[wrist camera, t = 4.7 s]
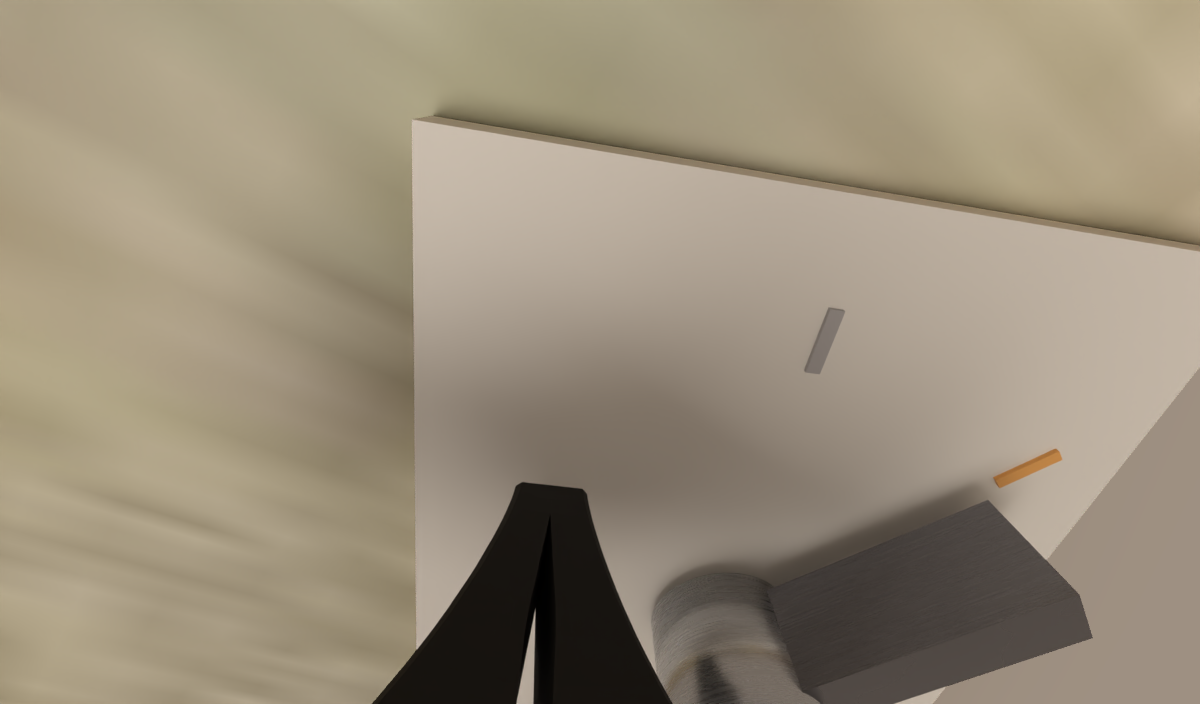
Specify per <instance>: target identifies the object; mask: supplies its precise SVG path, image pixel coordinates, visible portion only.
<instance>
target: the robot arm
mask: <svg viewBox="0 0 1200 704" xmlns="http://www.w3.org/2000/svg"><path fill="white" fill-rule="evenodd" d="M535 608H536V609H535ZM534 613H535V651H534V697H533V704H673V703H672V701H671V700H670V698H669V696H668V694H667V693H666V691H665V689H664V687H663V686H662V684H661V682H660V680H659V678H658V676H657V674H656V672H655V671H654V669H653V667H652V665H651V663H650V661H649V659H648V657H647V655H646V653H645V651H644V649H643V647H642V645H641V643H640V641H639V639H638V637H637V635H636V633H635V631H634V629H633V626H632V624H631V622H630V620H629V617H628V615H627V613H626V611H625V609H624V606H623V604H622V602H621V599H620V597H619V594H618V592H617V590H616V587H615V584H614V582H613V579H612V577H611V574H610V571H609V569H608V566H607V563H606V561H605V558H604V555H603V552H602V549H601V546H600V543H599V540H598V537H597V534H596V530H595V527H594V523H593V520H592V516H591V512H590V507H589V503H588V497H587V493H586V492H585V491H584V490H583V489H580V488H571V487H562V486H553V485H545V484H536V483H527V482H521V483H520V484H518V485H516V487H515V490H514V493H513V496H512V499H511V501H510V504H509V506H508V508H507V511H506V513H505V515H504V517H503V519H502V521H501V523H500V525H499V527H498V529H497V531H496V532H495V534H494V536H493V538H492V540H491V541H490V543H489V545H488V546H487V548H486V550H485V552H484V553H483V555H482V557H481V558H480V560H479V562H478V564H477V565H476V567H475V568H474V570H473V572H472V573H471V575H470V576H469V578H468V579H467V581H466V582H465V584H464V585H463V587H462V588H461V590H460V591H459V593H458V594H457V595H456V597H455V598H454V600H453V601H452V603H451V604H450V606H449V607H448V609H447V610H446V612H445V613H444V614H443V616H442V617H441V618H440V620H439V621H438V623H437V624H436V625H435V627H434V628H433V629H432V631H431V632H430V633H429V635H428V636H427V637H426V639H425V640H424V641H423V642H422V644H421V645H420V646H419V648H418V649H417V650H416V651H415V653H414V654H413V655H412V657H411V658H410V659H409V660H408V662H407V663H406V664H405V665H404V666H403V668H402V669H401V670H400V671H399V672H398V674H397V675H396V676H395V677H394V678H393V680H392V681H391V682H390V683H389V684H388V685H387V687H386V688H385V689H384V690H383V691H382V693H381V694H380V695H379V696H378V697H377V699H376V700H375V701H374V702H373V703H372V704H516V703H517V698H518V693H519V688H520V683H521V678H522V673H523V668H524V663H525V658H526V653H527V648H528V643H529V638H530V633H531V628H532V623H533V618H534Z"/></svg>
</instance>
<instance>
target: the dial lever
mask: <svg viewBox="0 0 1200 704" xmlns="http://www.w3.org/2000/svg"><path fill="white" fill-rule="evenodd" d="M651 628H652V636H653V645H654V654H655V663H656V672H657V676H658V678H659V680H660V682H661V684H662V686H663V687H664V689H665V691H666V693H667V694H668V696H669V698H670V700H671V701H672V703H673V704H895V703H898V702H901V701H904V700H907V699H910V698H913V697H916V696H919V695H922V694H925V693H928V692H931V691H934V690H937V689H940V688H943V687H946V686H949V685H952V684H955V683H958V682H961V681H964V680H967V679H970V678H973V677H976V676H979V675H982V674H985V673H988V672H991V671H994V670H997V669H1000V668H1003V667H1006V666H1009V665H1013V664H1016V663H1018V662H1021V661H1024V660H1027V659H1030V658H1034V657H1037V656H1039V655H1043V654H1045V653H1049V652H1052V651H1055V650H1057V649H1061V648H1064V647H1067V646H1070V645H1072V644H1076V643H1079V642H1082V641H1085V640H1088V639H1091V638H1092V634H1091V631H1090V628H1089V624H1088V621H1087V618H1086V615H1085V612H1084V608H1083V605H1082V602H1081V599H1080V596H1079V594H1078V593H1077V592H1076V591H1075V590H1074V589H1073V588H1072V587H1071V585H1070V584H1068V582H1067V581H1066V580H1065V579H1064V578H1063V577H1062V576H1061V575H1060V574H1059V573H1058V572H1057V571H1056V570H1055V569H1054V568H1053V567H1052V566H1051V565H1050V564H1049V563H1048V562H1047V561H1046V560H1045V558H1044V557H1043V556H1042V555H1041V554H1040V553H1039V552H1038V551H1037V550H1036V549H1035V548H1034V547H1033V546H1032V545H1031V544H1030V543H1029V542H1028V541H1027V540H1026V539H1025V538H1024V537H1023V536H1022V535H1021V534H1020V533H1019V531H1018V530H1017V529H1016V528H1015V527H1014V526H1013V525H1012V524H1011V523H1010V522H1009V521H1008V520H1007V519H1006V518H1005V517H1004V516H1003V515H1002V514H1001V513H1000V512H999V511H998V510H997V509H996V508H995V507H994V506H993V505H992V503H991V502H990V501H989V500H986V501H984V502H981V503H979V504H976V505H974V506H972V507H969V508H967V509H964V510H962V511H959V512H957V513H954V514H952V515H950V516H947V517H945V518H942V519H940V520H937V521H935V522H933V523H930V524H928V525H925V526H923V527H920V528H918V529H915V530H913V531H911V532H908V533H906V534H903V535H901V536H898V537H896V538H893V539H891V540H889V541H886V542H884V543H881V544H879V545H876V546H874V547H872V548H869V549H867V550H864V551H862V552H859V553H857V554H854V555H852V556H850V557H847V558H845V559H842V560H840V561H837V562H835V563H832V564H830V565H828V566H825V567H823V568H820V569H818V570H815V571H813V572H811V573H808V574H806V575H803V576H801V577H798V578H796V579H793V580H791V581H789V582H786V583H784V584H781V585H779V586H776V587H774V586H772V585H771V584H769V583H768V582H766V581H764V580H762V579H760V578H757V577H754V576H750V575H745V574H739V573H716V574H709V575H704V576H700V577H697V578H693V579H691V580H688V581H686V582H684V583H682V584H680V585H678V586H676V587H675V588H673V589H671V590H670V591H669V592H668V593H666V594H665V595H664V596H663V597H662V598H661V599H660V601H659V602H658V603H657V605H656V607H655V609H654V611H653V614H652V617H651Z"/></svg>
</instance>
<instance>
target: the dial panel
mask: <svg viewBox="0 0 1200 704" xmlns="http://www.w3.org/2000/svg"><path fill="white" fill-rule="evenodd" d="M412 193H413V311H414V429H415V546H416V650H417V649H418V648H419V646H420V645H421V644H422V642H423V641H424V640H425V639H426V637H427V636H428V635H429V633H430V632H431V631H432V629H433V628H434V627H435V625H436V624H437V623H438V621H439V620H440V618H441V617H442V616H443V614H444V613H445V612H446V610H447V609H448V607H449V606H450V604H451V603H452V601H453V600H454V598H455V597H456V595H457V594H458V593H459V591H460V590H461V588H462V587H463V585H464V584H465V582H466V581H467V579H468V578H469V576H470V575H471V573H472V572H473V570H474V568H475V567H476V565H477V564H478V562H479V560H480V558H481V557H482V555H483V553H484V552H485V550H486V548H487V546H488V545H489V543H490V541H491V540H492V538H493V536H494V534H495V532H496V531H497V529H498V527H499V525H500V523H501V521H502V519H503V517H504V515H505V513H506V511H507V508H508V506H509V504H510V501H511V499H512V496H513V493H514V490H515V487H516V485H518V484H520V483H521V482H527V483H536V484H545V485H553V486H562V487H571V488H580V489H583V490H584V491H585V492H586V493H587V497H588V503H589V507H590V512H591V516H592V520H593V523H594V527H595V530H596V534H597V537H598V540H599V543H600V546H601V549H602V552H603V555H604V558H605V561H606V563H607V566H608V569H609V571H610V574H611V577H612V579H613V582H614V584H615V587H616V590H617V592H618V594H619V597H620V599H621V602H622V604H623V606H624V609H625V611H626V613H627V615H628V617H629V620H630V622H631V624H632V626H633V629H634V631H635V633H636V635H637V637H638V639H639V641H640V643H641V645H642V647H643V649H644V651H645V653H646V655H647V657H648V659H649V661H650V663H651V665H652V667H653V669H654V671H655V672H656V663H655V654H654V645H653V636H652V628H651V617H652V614H653V611H654V609H655V607H656V605H657V603H658V602H659V601H660V599H661V598H662V597H663V596H664V595H665V594H666V593H668V592H669V591H670V590H671V589H673V588H675V587H676V586H678V585H680V584H682V583H684V582H686V581H688V580H691V579H693V578H697V577H700V576H704V575H709V574H716V573H739V574H745V575H750V576H754V577H757V578H760V579H762V580H764V581H766V582H768V583H769V584H771V585H772V586H774V587H776V586H779V585H781V584H784V583H786V582H789V581H791V580H793V579H796V578H798V577H801V576H803V575H806V574H808V573H811V572H813V571H815V570H818V569H820V568H823V567H825V566H828V565H830V564H832V563H835V562H837V561H840V560H842V559H845V558H847V557H850V556H852V555H854V554H857V553H859V552H862V551H864V550H867V549H869V548H872V547H874V546H876V545H879V544H881V543H884V542H886V541H889V540H891V539H893V538H896V537H898V536H901V535H903V534H906V533H908V532H911V531H913V530H915V529H918V528H920V527H923V526H925V525H928V524H930V523H933V522H935V521H937V520H940V519H942V518H945V517H947V516H950V515H952V514H954V513H957V512H959V511H962V510H964V509H967V508H969V507H972V506H974V505H976V504H979V503H981V502H984V501H986V500H989V501H990V502H991V503H992V505H993V506H994V507H995V508H996V509H997V510H998V511H999V512H1000V513H1001V514H1002V515H1003V516H1004V517H1005V518H1006V519H1007V520H1008V521H1009V522H1010V523H1011V524H1012V525H1013V526H1014V527H1015V528H1016V529H1017V530H1018V531H1019V533H1020V534H1021V535H1022V536H1023V537H1024V538H1025V539H1026V540H1027V541H1028V542H1029V543H1030V544H1031V545H1032V546H1033V547H1034V548H1035V549H1036V550H1037V551H1038V552H1039V553H1040V554H1041V555H1042V556H1043V557H1044V558H1045V560H1047V559H1048V558H1049V557H1050V555H1051V554H1052V553H1053V551H1054V550H1055V549H1056V548H1057V546H1058V545H1059V544H1060V543H1061V541H1062V540H1063V539H1064V538H1065V536H1066V535H1067V534H1068V533H1069V531H1070V530H1071V529H1072V528H1073V526H1074V525H1075V524H1076V523H1077V521H1078V520H1079V519H1080V517H1081V516H1082V515H1083V514H1084V512H1085V511H1086V510H1087V508H1088V507H1089V506H1090V505H1091V504H1092V502H1093V501H1094V500H1095V498H1096V497H1097V496H1098V495H1099V494H1100V492H1101V491H1102V490H1103V488H1104V487H1105V486H1106V485H1107V483H1108V482H1109V481H1110V479H1111V478H1112V477H1113V476H1114V474H1115V473H1116V472H1117V471H1118V470H1119V468H1120V467H1121V466H1122V465H1123V463H1124V462H1125V461H1126V459H1127V458H1128V457H1129V456H1130V454H1131V453H1132V452H1133V451H1134V449H1135V448H1136V447H1137V446H1138V444H1139V443H1140V442H1141V441H1142V439H1143V438H1144V437H1145V436H1146V434H1147V433H1148V432H1149V430H1150V429H1151V428H1152V427H1153V425H1154V424H1155V423H1156V421H1157V420H1158V419H1159V418H1160V417H1161V415H1162V414H1163V413H1164V412H1165V410H1166V409H1167V408H1168V407H1169V405H1170V404H1171V403H1172V401H1173V400H1174V399H1175V398H1176V396H1177V395H1178V394H1179V393H1180V391H1181V390H1182V389H1183V388H1184V386H1185V385H1186V384H1187V382H1188V381H1189V380H1190V379H1191V377H1192V376H1193V375H1194V374H1195V372H1196V371H1197V370H1198V369H1199V367H1200V245H1194V244H1188V243H1182V242H1176V241H1170V240H1164V239H1158V238H1152V237H1146V236H1141V235H1135V234H1129V233H1123V232H1117V231H1111V230H1105V229H1099V228H1093V227H1087V226H1081V225H1075V224H1070V223H1064V222H1058V221H1052V220H1046V219H1040V218H1034V217H1028V216H1022V215H1016V214H1010V213H1004V212H999V211H993V210H987V209H981V208H975V207H969V206H963V205H957V204H951V203H945V202H939V201H933V200H928V199H922V198H916V197H910V196H904V195H898V194H892V193H886V192H880V191H874V190H868V189H863V188H857V187H851V186H845V185H839V184H833V183H827V182H821V181H815V180H809V179H803V178H797V177H792V176H786V175H780V174H774V173H768V172H762V171H756V170H750V169H744V168H738V167H732V166H726V165H721V164H715V163H709V162H703V161H697V160H691V159H685V158H679V157H673V156H667V155H661V154H656V153H650V152H644V151H638V150H632V149H626V148H620V147H614V146H608V145H602V144H596V143H590V142H585V141H579V140H573V139H567V138H561V137H555V136H549V135H543V134H537V133H531V132H525V131H519V130H514V129H508V128H502V127H496V126H490V125H484V124H478V123H472V122H466V121H460V120H454V119H448V118H443V117H437V116H428V117H423V118H417V119H412ZM535 609H536V608H535ZM534 651H535V613H534V618H533V623H532V628H531V633H530V638H529V643H528V648H527V653H526V658H525V663H524V668H523V673H522V678H521V683H520V688H519V693H518V698H517V703H516V704H533V697H534ZM656 674H657V672H656ZM946 687H947V686H946ZM946 687H943V688H940V689H937V690H934V691H931V692H928V693H925V694H922V695H919V696H916V697H913V698H910V699H907V700H904V701H901V702H898V703H895V704H933V703H934V702H935V700H936V699H937V698H938V697H939V695H940V694H941V693H942V692H943V690H944V689H945V688H946Z"/></svg>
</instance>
